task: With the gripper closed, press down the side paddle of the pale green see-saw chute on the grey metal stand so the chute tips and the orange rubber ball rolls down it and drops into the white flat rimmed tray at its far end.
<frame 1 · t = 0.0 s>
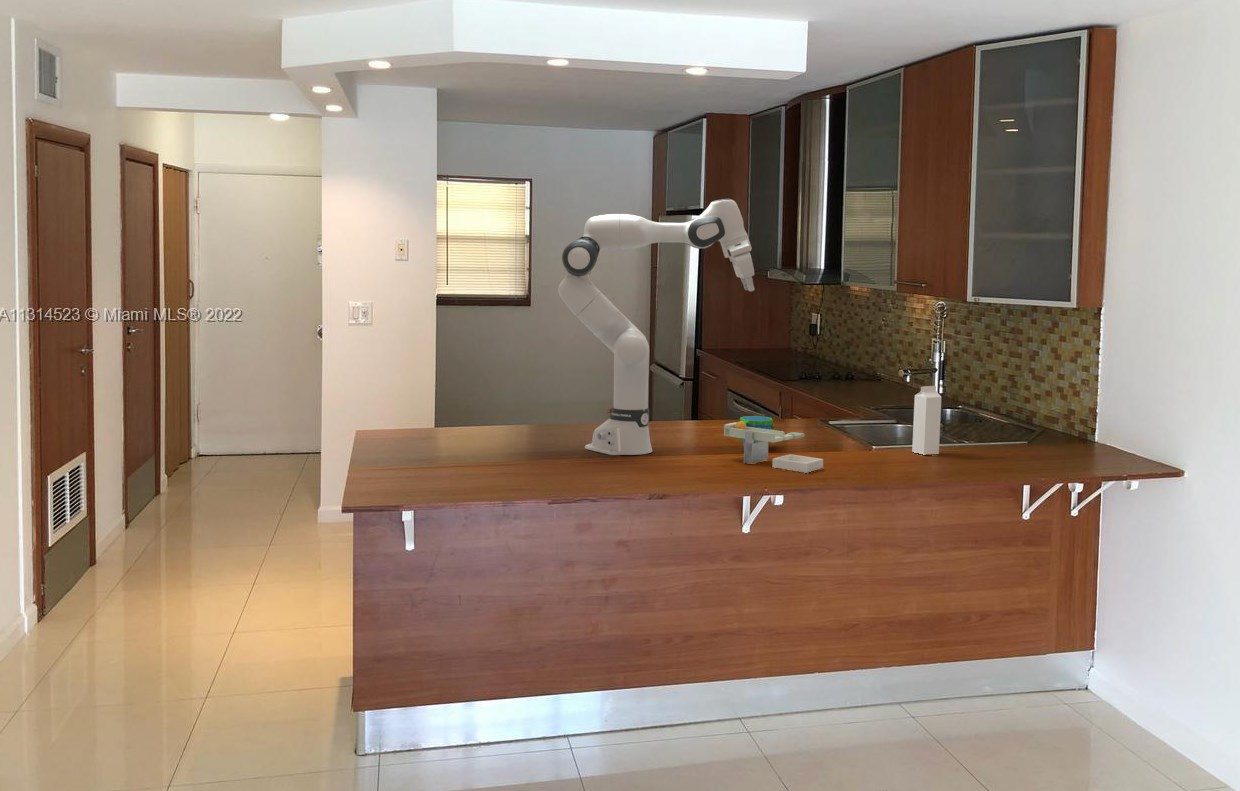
hand: (750, 290, 347), 52 cm above the table, tool tilted 20°, fingers open, 8 cm apart
milk: (925, 454, 354), on the table
snack cup: (755, 449, 361), on the table
ball: (740, 427, 340), point 10 cm above the table, touching lever
stand: (755, 462, 337), on the table
lever: (764, 430, 340), point 9 cm above the table, hinge at 0.0°, touching ball
white flat rimmed tray: (797, 468, 328), on the table
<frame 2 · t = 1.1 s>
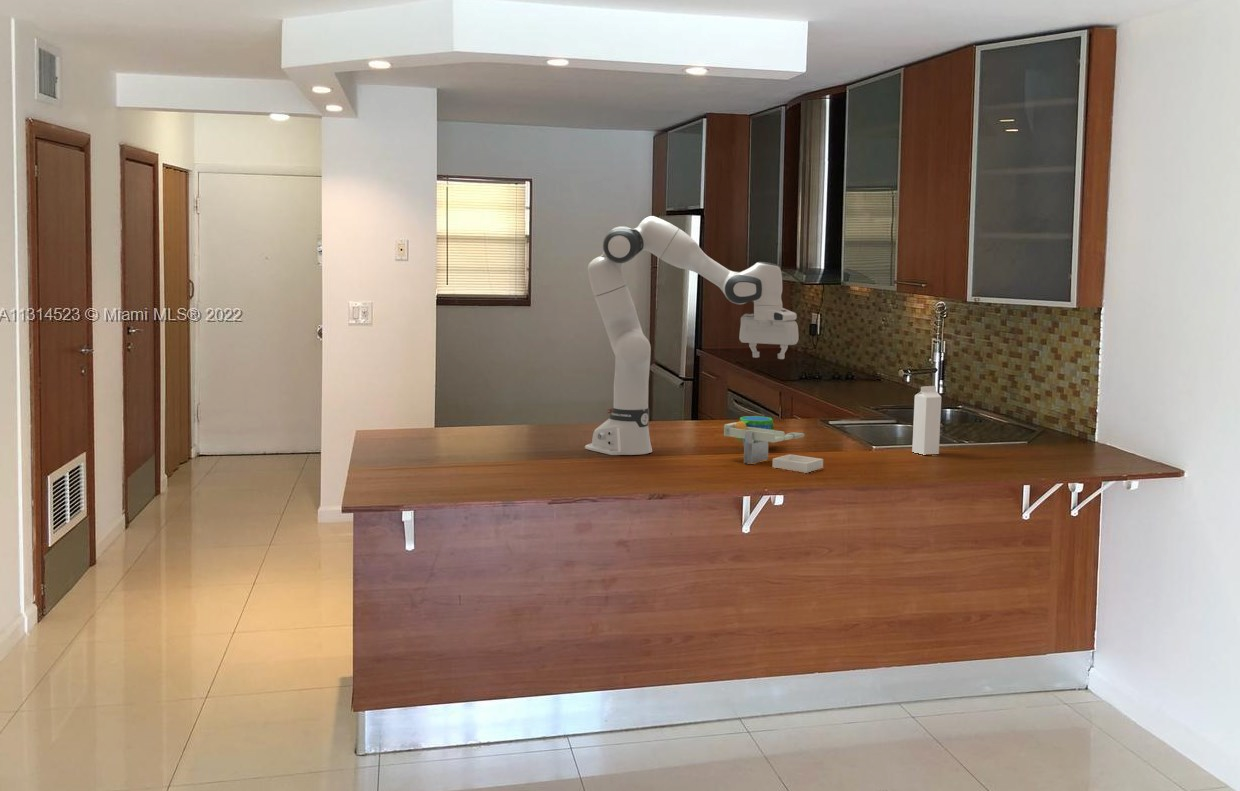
hand: (768, 358, 345), 31 cm above the table, tool pointing down, fingers open, 8 cm apart
nothing on the table moved.
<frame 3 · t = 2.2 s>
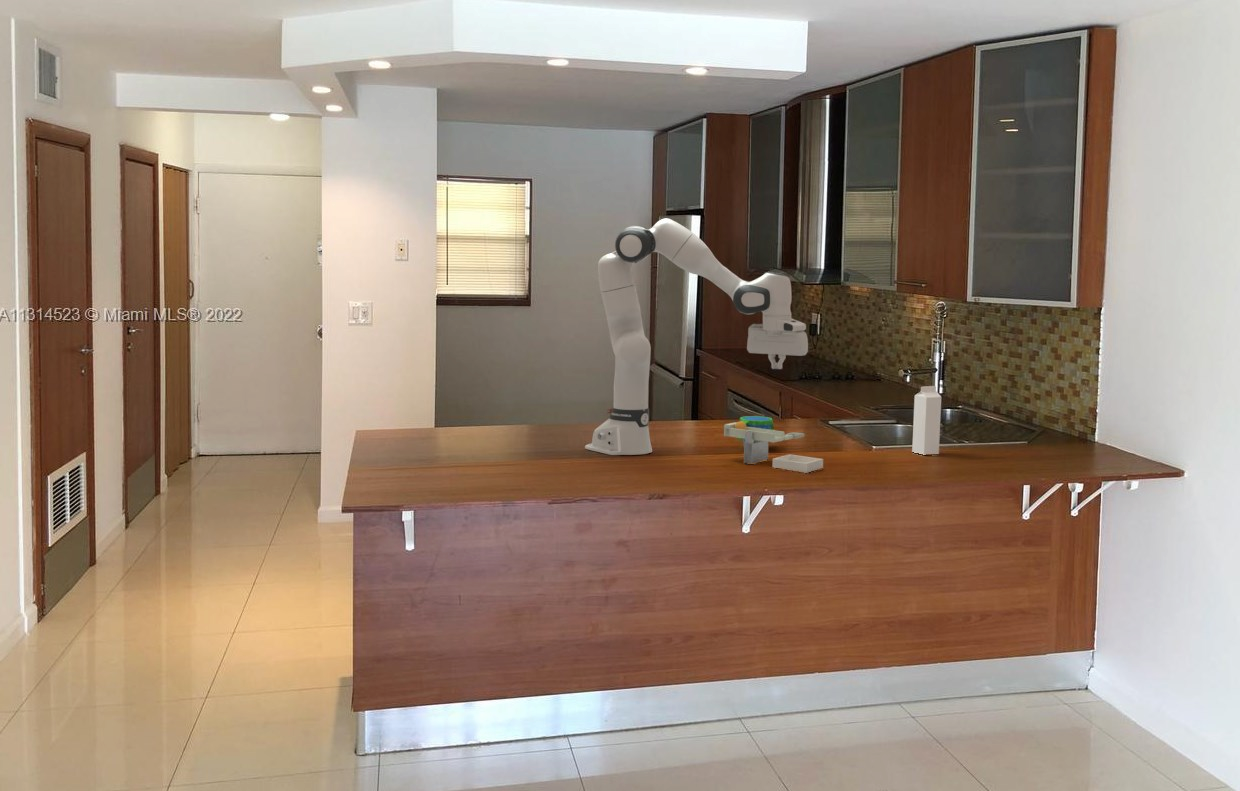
hand: (776, 368, 343), 28 cm above the table, tool pointing down, fingers closed
nothing on the table moved.
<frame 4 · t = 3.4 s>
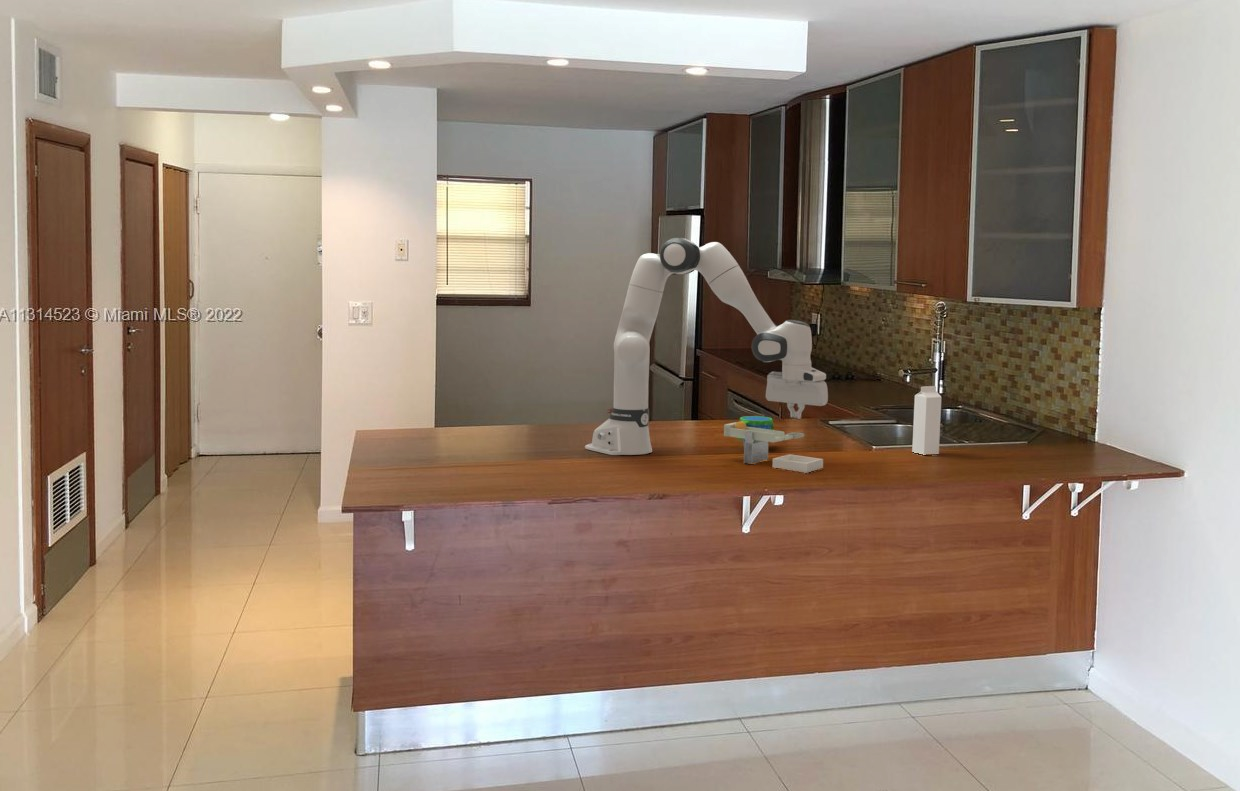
hand: (795, 417, 338), 13 cm above the table, tool pointing down, fingers closed
nothing on the table moved.
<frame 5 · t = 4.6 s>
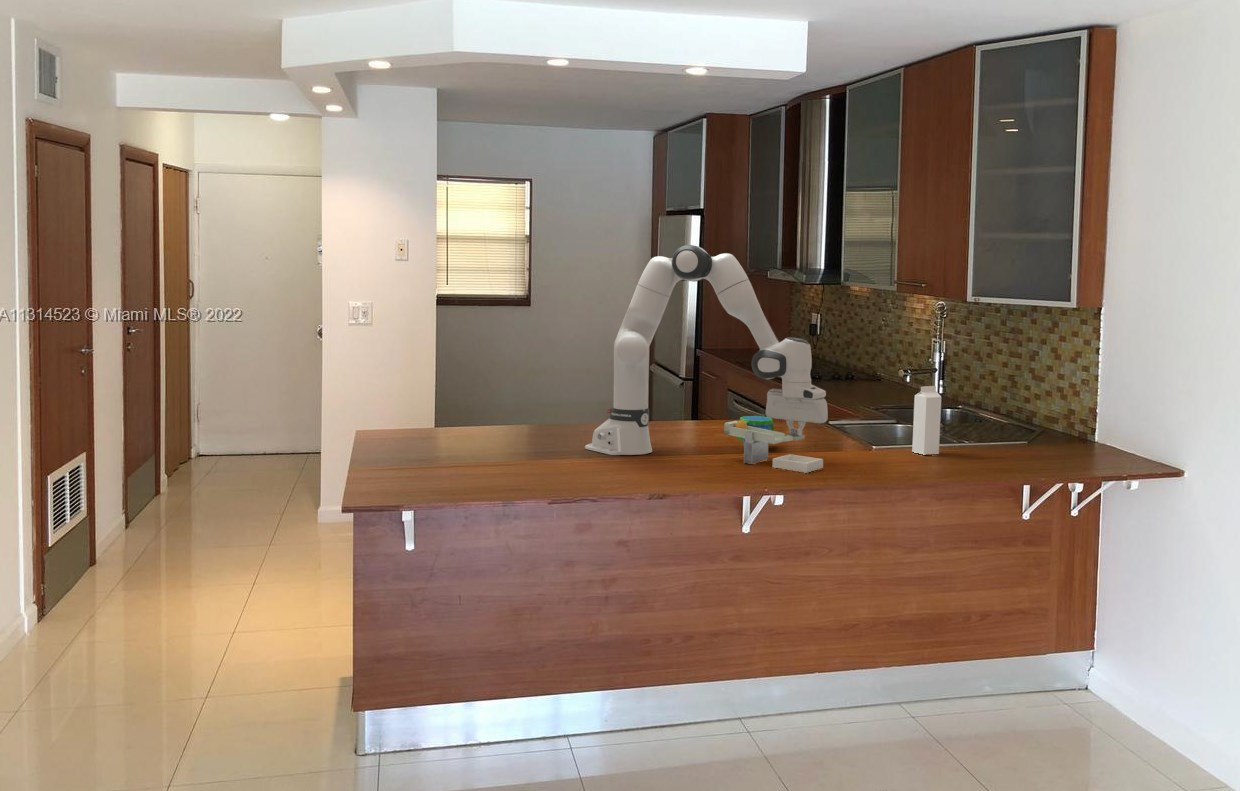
hand: (795, 434, 339), 8 cm above the table, tool pointing down, fingers closed
ball: (741, 426, 339), point 11 cm above the table, tilted 6°, touching lever
lever: (764, 430, 340), point 9 cm above the table, hinge at 3.3°, touching ball, gripper
everything else where it was.
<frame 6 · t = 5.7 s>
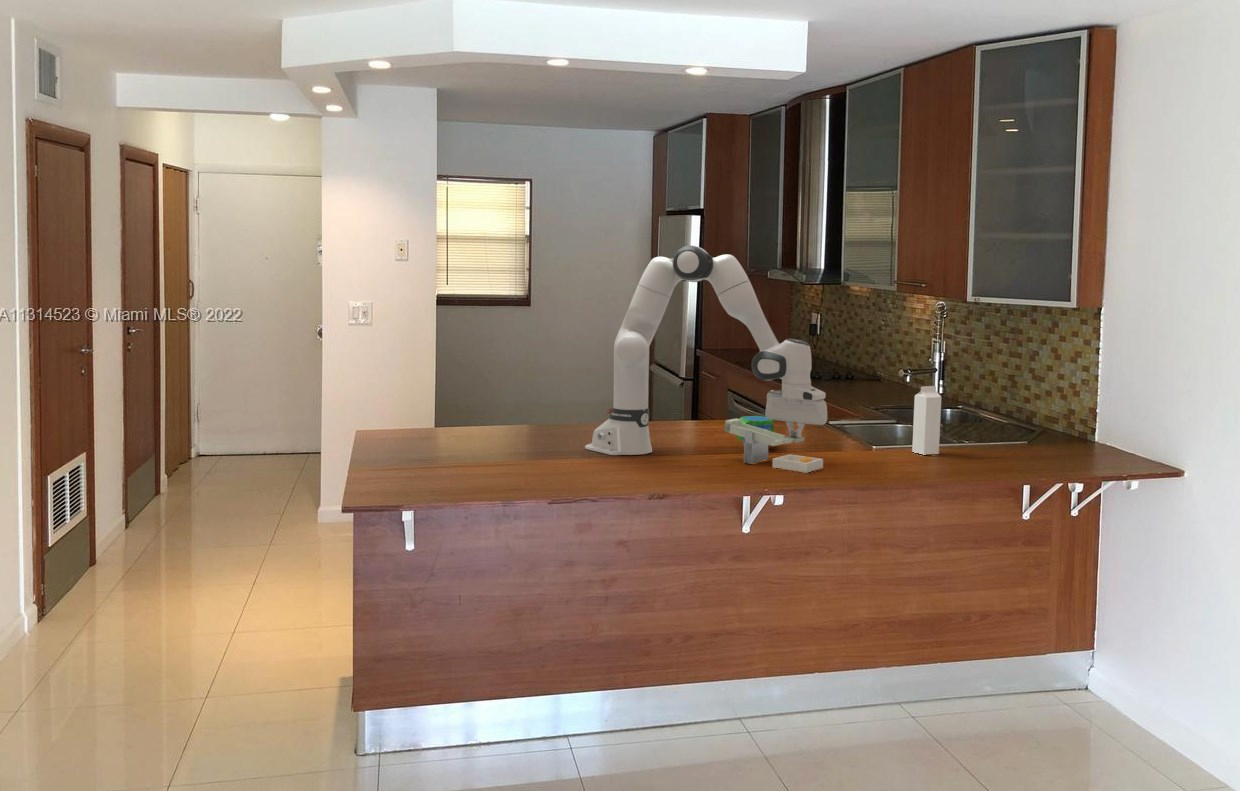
hand: (795, 436, 339), 8 cm above the table, tool pointing down, fingers closed
ball: (806, 462, 326), point 2 cm above the table, tilted 62°, touching white flat rimmed tray
lever: (764, 430, 340), point 9 cm above the table, hinge at 8.0°, touching gripper
everything else where it was.
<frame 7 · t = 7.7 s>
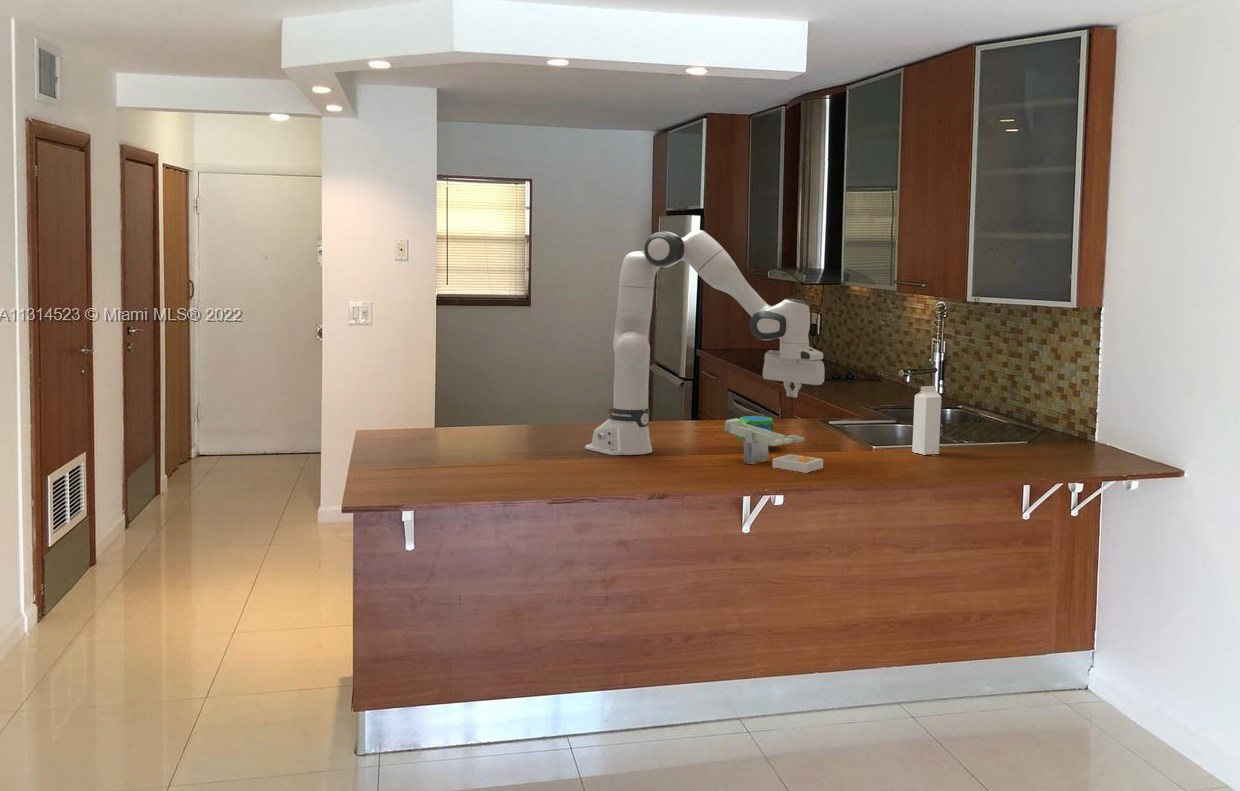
hand: (791, 396, 338), 20 cm above the table, tool pointing down, fingers closed
ball: (803, 462, 326), point 2 cm above the table, tilted 34°, touching white flat rimmed tray
lever: (764, 430, 340), point 9 cm above the table, hinge at 8.0°
everything else where it was.
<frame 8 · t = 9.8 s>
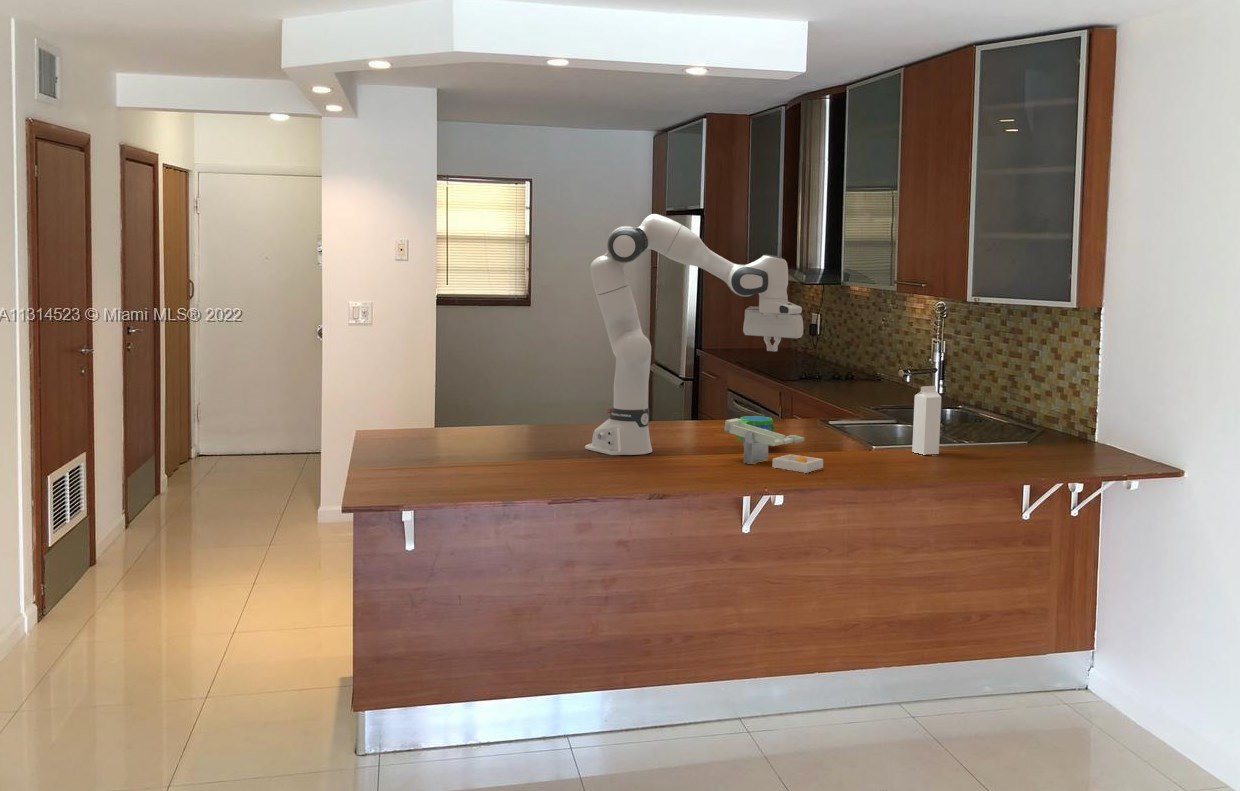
hand: (772, 351, 346), 33 cm above the table, tool pointing down, fingers closed
ball: (801, 461, 327), point 2 cm above the table, touching white flat rimmed tray
everything else where it was.
at the end: ball inside the target area on the white flat rimmed tray (1.1 cm from its centre), point 2.2 cm above the white flat rimmed tray's base; ball touching white flat rimmed tray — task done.
